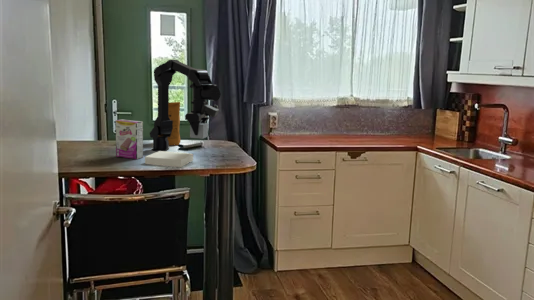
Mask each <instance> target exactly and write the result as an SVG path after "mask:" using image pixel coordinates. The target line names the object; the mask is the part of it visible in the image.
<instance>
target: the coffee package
mask: <svg viewBox="0 0 534 300" xmlns="http://www.w3.org/2000/svg"><path fill="white" fill-rule="evenodd" d="M180 112H181V101H175V102H169V113H168V116H169V118H170V120H172V121H173V129H172V132H171V136H170V137H168V140H169V147H170V146H179V145H180V143H181V135H180V123H181V115H180Z"/></svg>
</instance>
